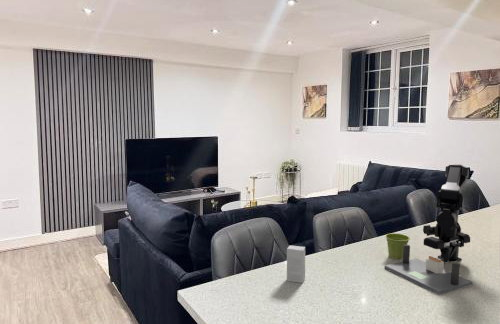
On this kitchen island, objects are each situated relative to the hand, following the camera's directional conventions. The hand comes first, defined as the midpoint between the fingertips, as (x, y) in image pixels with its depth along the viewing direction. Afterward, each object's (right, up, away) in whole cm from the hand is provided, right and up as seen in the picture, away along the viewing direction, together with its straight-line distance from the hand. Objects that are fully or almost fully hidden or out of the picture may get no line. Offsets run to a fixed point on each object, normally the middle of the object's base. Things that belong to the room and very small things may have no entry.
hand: (445, 262), depth 144 cm
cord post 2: (-4, -4, -13) cm, 14 cm away
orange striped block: (-6, -3, -2) cm, 7 cm away
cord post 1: (-13, -2, +6) cm, 14 cm away
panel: (-9, -4, -4) cm, 11 cm away
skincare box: (-57, -5, -7) cm, 58 cm away
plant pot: (-13, -2, +15) cm, 20 cm away
